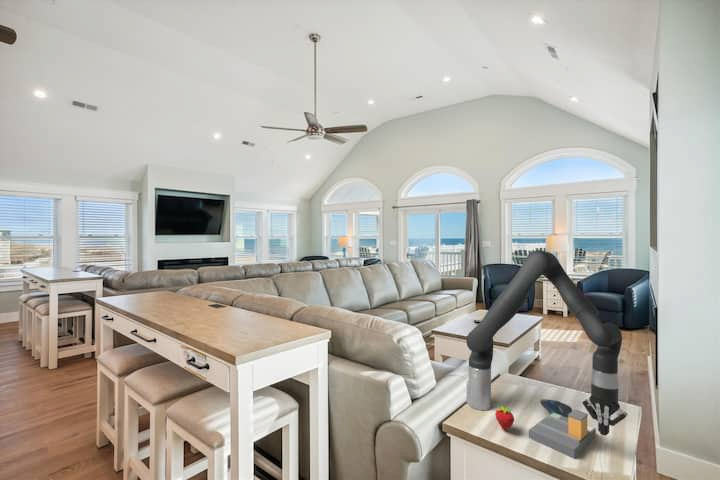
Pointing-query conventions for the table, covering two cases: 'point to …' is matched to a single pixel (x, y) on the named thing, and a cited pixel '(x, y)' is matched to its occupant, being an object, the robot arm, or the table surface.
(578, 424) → the breaker toggle
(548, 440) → the panel
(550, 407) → the seashell
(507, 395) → the table surface
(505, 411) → the strawberry
